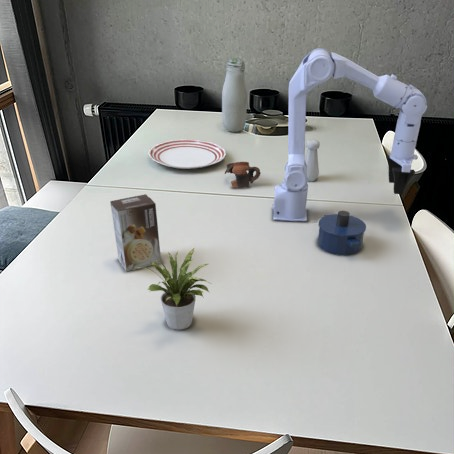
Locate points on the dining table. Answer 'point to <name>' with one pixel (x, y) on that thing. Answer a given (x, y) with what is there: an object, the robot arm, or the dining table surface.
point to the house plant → (178, 292)
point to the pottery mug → (242, 173)
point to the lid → (342, 225)
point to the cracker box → (136, 231)
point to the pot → (339, 243)
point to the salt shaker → (312, 159)
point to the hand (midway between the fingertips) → (395, 187)
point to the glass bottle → (234, 96)
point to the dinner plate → (187, 153)
